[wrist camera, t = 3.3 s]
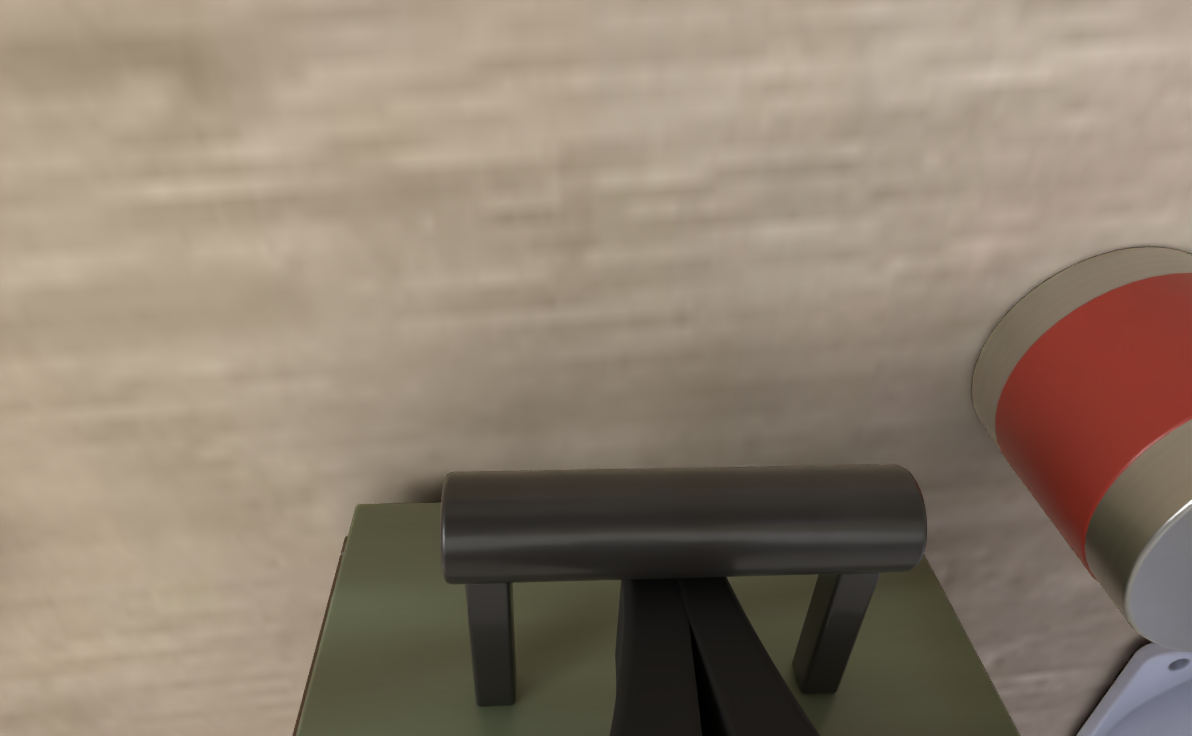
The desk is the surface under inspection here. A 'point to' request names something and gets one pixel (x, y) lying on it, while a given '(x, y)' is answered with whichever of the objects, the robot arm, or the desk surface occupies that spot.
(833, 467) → the drawer
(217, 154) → the desk surface
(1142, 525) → the can
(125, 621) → the desk surface
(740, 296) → the desk surface
